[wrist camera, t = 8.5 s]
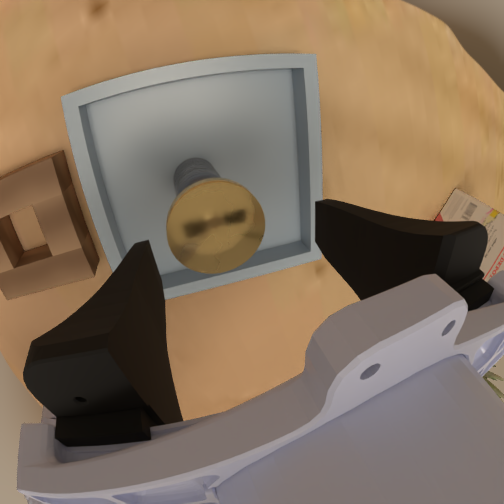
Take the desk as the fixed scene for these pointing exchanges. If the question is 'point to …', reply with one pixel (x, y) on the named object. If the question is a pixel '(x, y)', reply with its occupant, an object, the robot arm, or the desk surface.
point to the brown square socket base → (44, 230)
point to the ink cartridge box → (470, 209)
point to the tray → (202, 155)
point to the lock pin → (212, 219)
